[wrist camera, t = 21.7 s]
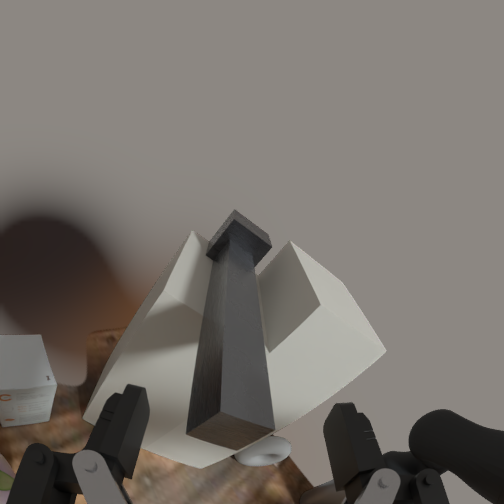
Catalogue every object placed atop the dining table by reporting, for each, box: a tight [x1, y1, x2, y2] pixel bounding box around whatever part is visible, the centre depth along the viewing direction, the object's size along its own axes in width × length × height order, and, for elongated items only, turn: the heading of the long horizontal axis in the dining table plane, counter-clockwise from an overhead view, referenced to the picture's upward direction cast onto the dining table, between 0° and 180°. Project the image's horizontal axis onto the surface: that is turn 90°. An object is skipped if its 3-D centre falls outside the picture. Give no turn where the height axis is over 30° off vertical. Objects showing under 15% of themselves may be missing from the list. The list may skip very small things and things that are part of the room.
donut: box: [234, 436, 291, 466], centre depth 37 cm, size 10×4×10 cm, turn 98°
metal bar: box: [186, 210, 275, 451], centre depth 21 cm, size 24×5×5 cm, turn 3°
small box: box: [0, 334, 57, 427], centre depth 18 cm, size 8×6×13 cm
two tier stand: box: [82, 230, 386, 469], centre depth 31 cm, size 14×20×34 cm
